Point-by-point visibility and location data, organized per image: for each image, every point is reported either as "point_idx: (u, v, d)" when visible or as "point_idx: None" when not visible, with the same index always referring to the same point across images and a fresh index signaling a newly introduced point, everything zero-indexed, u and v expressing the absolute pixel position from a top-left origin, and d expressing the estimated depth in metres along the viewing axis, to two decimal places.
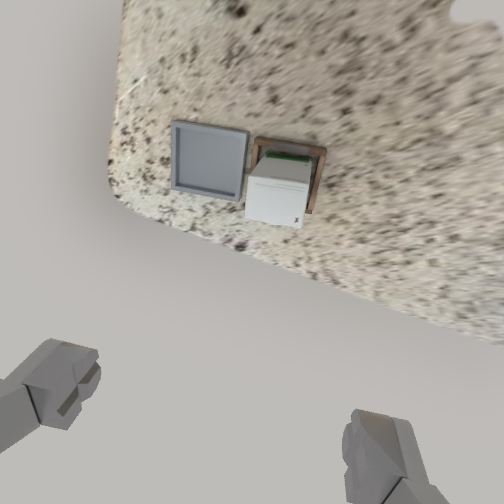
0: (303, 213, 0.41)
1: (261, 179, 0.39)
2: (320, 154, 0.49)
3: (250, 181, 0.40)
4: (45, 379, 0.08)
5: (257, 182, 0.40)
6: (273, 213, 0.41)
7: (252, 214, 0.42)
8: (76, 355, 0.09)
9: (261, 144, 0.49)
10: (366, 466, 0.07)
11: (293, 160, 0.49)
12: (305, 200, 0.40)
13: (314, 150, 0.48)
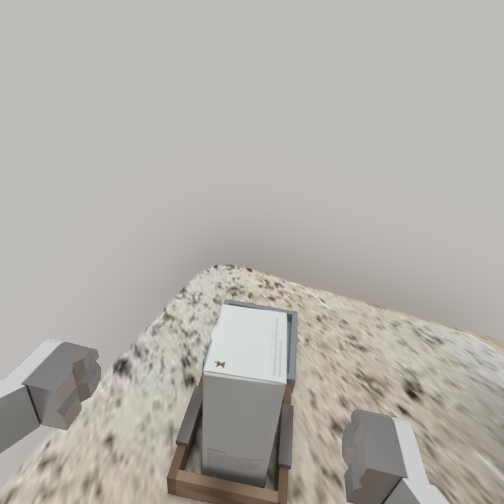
0: (232, 375, 0.22)
1: (284, 325, 0.27)
2: (280, 491, 0.27)
3: (280, 314, 0.28)
4: (45, 379, 0.08)
5: (279, 320, 0.28)
6: (232, 334, 0.26)
7: (230, 311, 0.28)
8: (76, 355, 0.09)
9: (285, 395, 0.35)
10: (366, 466, 0.07)
11: None
12: (257, 378, 0.22)
13: (285, 479, 0.28)
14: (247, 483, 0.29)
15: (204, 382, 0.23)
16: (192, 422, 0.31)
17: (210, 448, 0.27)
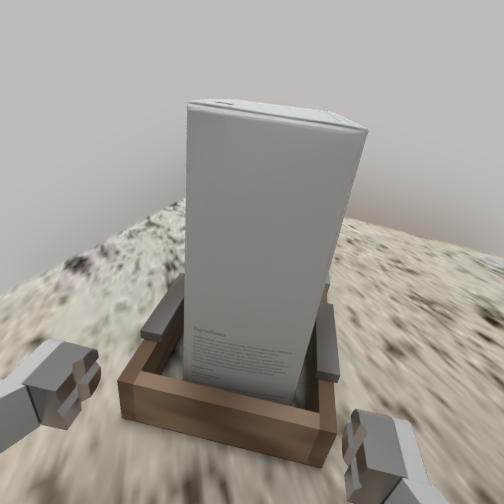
0: (250, 112, 0.10)
1: (339, 115, 0.15)
2: (323, 413, 0.15)
3: (327, 111, 0.17)
4: (45, 379, 0.08)
5: (328, 112, 0.16)
6: None
7: None
8: (76, 355, 0.09)
9: None
10: (366, 466, 0.07)
11: None
12: (304, 119, 0.10)
13: (331, 396, 0.16)
14: None
15: (189, 140, 0.11)
16: (171, 310, 0.19)
17: (197, 328, 0.15)
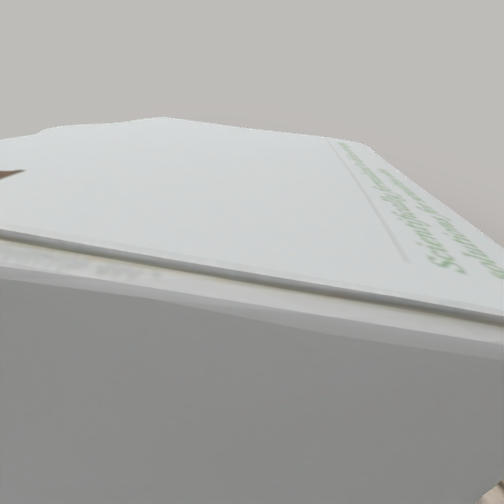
0: (17, 238, 0.02)
1: (374, 154, 0.07)
2: None
3: (346, 141, 0.08)
4: None
5: (350, 145, 0.08)
6: (156, 134, 0.05)
7: (175, 120, 0.08)
8: None
9: None
10: None
11: None
12: (287, 276, 0.02)
13: None
14: None
15: None
16: None
17: None
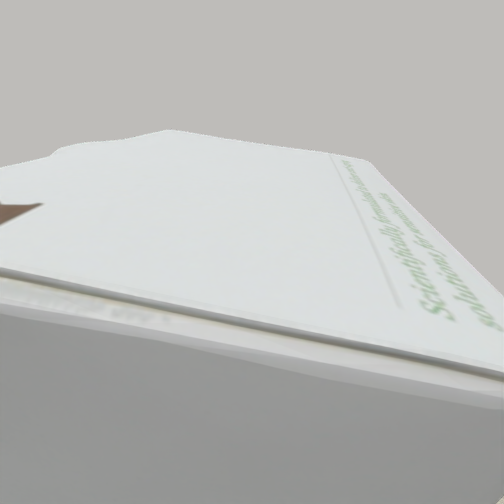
0: (39, 280, 0.02)
1: (377, 174, 0.07)
2: None
3: (350, 158, 0.09)
4: None
5: (353, 164, 0.08)
6: (165, 154, 0.06)
7: (182, 135, 0.08)
8: None
9: None
10: None
11: None
12: (287, 324, 0.02)
13: None
14: None
15: None
16: None
17: None
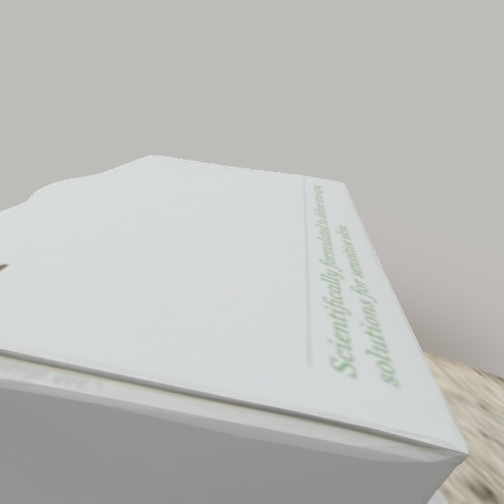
0: None
1: (346, 200, 0.08)
2: None
3: (324, 181, 0.09)
4: None
5: (325, 189, 0.08)
6: (137, 192, 0.06)
7: (162, 162, 0.09)
8: None
9: None
10: None
11: None
12: (203, 387, 0.03)
13: None
14: None
15: None
16: None
17: None
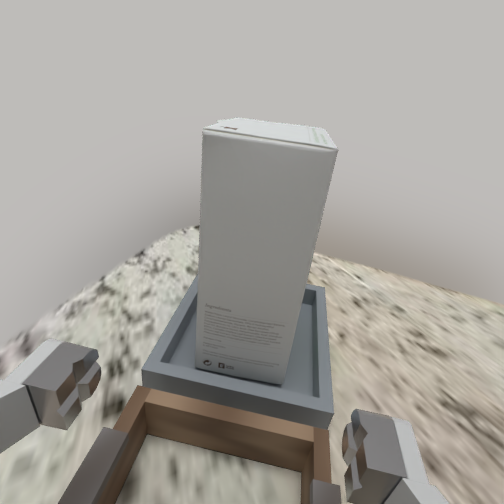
0: (249, 135, 0.14)
1: (324, 131, 0.19)
2: None
3: (316, 127, 0.20)
4: (45, 379, 0.08)
5: (316, 128, 0.19)
6: (249, 123, 0.17)
7: None
8: (76, 355, 0.09)
9: (317, 452, 0.15)
10: (366, 466, 0.07)
11: None
12: (290, 141, 0.14)
13: None
14: (260, 373, 0.20)
15: (203, 156, 0.14)
16: None
17: (208, 304, 0.18)
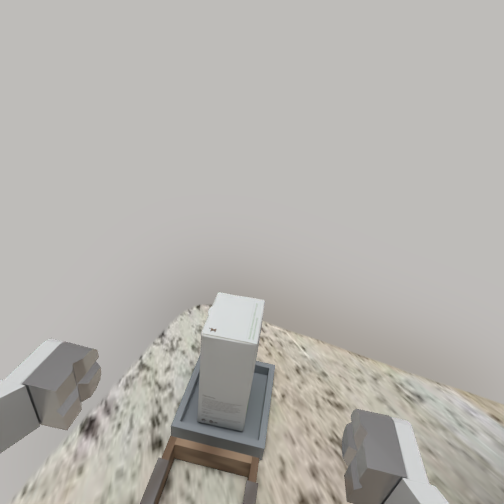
0: (220, 337, 0.33)
1: (261, 308, 0.38)
2: None
3: (259, 300, 0.39)
4: (45, 379, 0.08)
5: (258, 305, 0.38)
6: (223, 312, 0.36)
7: (223, 297, 0.39)
8: (76, 355, 0.09)
9: (252, 468, 0.34)
10: (366, 466, 0.07)
11: None
12: (237, 339, 0.33)
13: None
14: (231, 425, 0.39)
15: (201, 342, 0.33)
16: (150, 503, 0.30)
17: (204, 395, 0.37)
